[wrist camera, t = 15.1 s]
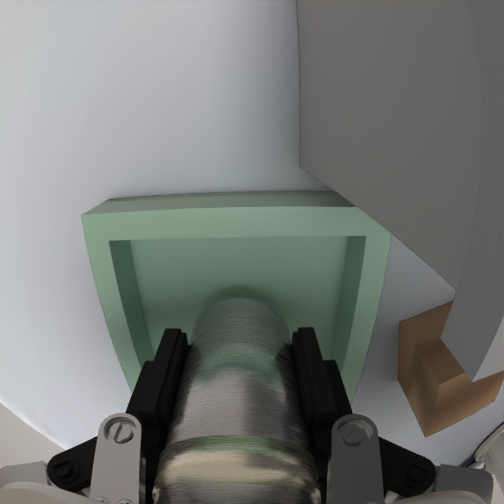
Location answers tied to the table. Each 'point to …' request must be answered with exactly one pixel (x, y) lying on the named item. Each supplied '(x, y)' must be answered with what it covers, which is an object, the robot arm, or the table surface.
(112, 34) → the table surface
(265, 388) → the fuse
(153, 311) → the tray
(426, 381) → the walnut block
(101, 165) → the table surface
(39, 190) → the table surface
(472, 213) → the box
